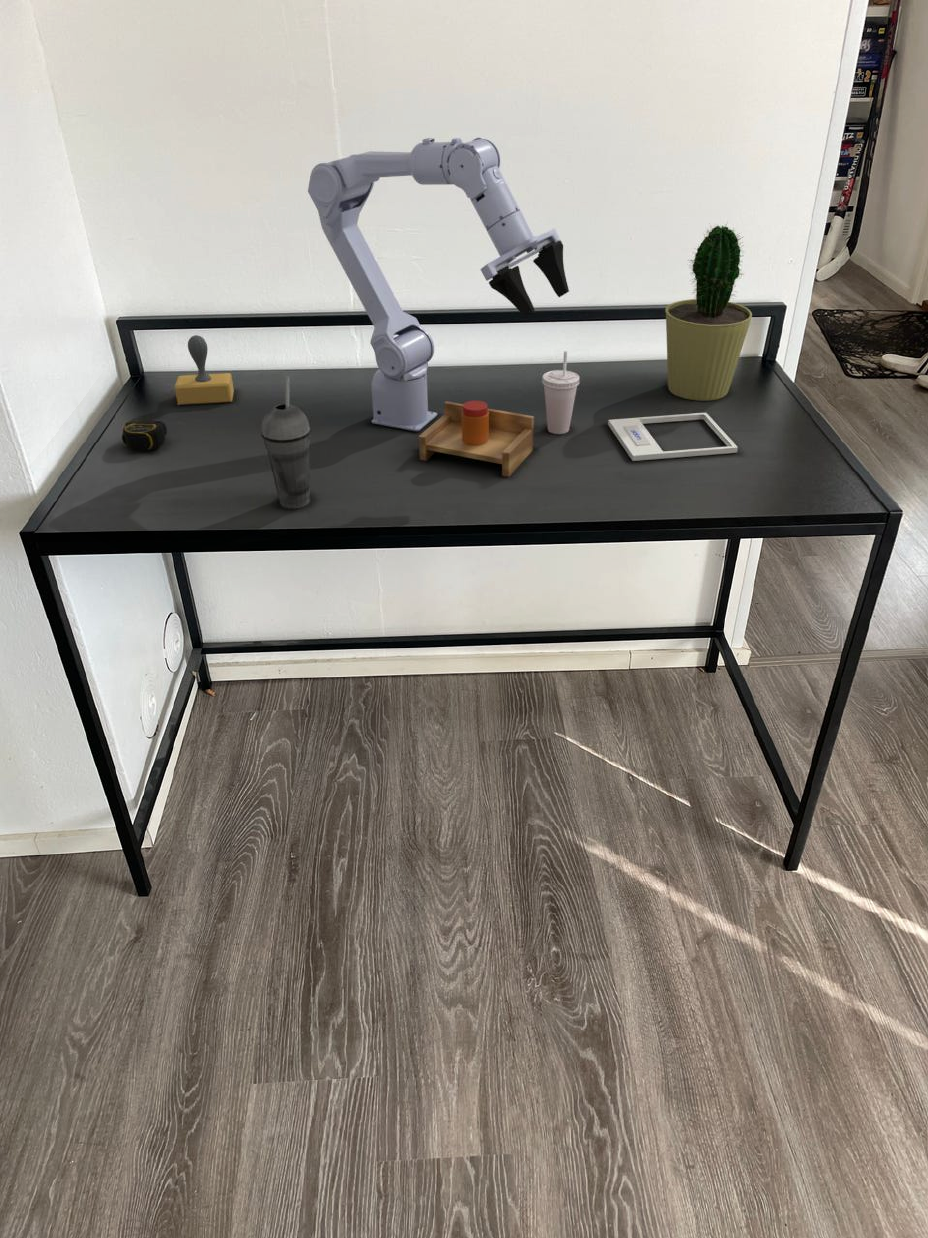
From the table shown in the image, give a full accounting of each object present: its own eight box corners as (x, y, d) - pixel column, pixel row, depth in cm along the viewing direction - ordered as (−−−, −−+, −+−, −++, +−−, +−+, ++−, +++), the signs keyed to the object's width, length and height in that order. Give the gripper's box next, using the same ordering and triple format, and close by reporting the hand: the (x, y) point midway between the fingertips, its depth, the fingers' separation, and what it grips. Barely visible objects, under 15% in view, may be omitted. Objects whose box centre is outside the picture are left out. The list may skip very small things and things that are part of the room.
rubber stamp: (234, 390, 182) (224, 329, 175) (231, 402, 177) (221, 339, 170) (181, 393, 181) (169, 331, 174) (177, 405, 176) (165, 342, 169)
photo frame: (608, 418, 167) (706, 411, 169) (608, 424, 167) (705, 417, 169) (633, 454, 155) (738, 446, 157) (632, 460, 155) (737, 452, 158)
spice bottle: (457, 442, 155) (457, 408, 152) (468, 432, 158) (468, 398, 155) (482, 447, 154) (482, 412, 150) (492, 436, 157) (493, 402, 153)
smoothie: (574, 438, 163) (579, 359, 155) (537, 435, 164) (540, 357, 156) (578, 423, 168) (583, 346, 160) (542, 420, 169) (545, 343, 161)
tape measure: (169, 437, 165) (165, 417, 163) (162, 454, 160) (158, 433, 157) (130, 438, 165) (125, 418, 163) (121, 455, 159) (116, 435, 157)
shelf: (419, 459, 157) (418, 424, 153) (447, 434, 165) (446, 401, 161) (508, 477, 151) (509, 441, 148) (532, 450, 159) (534, 416, 156)
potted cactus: (655, 372, 188) (673, 211, 170) (735, 375, 186) (761, 213, 168) (657, 403, 175) (677, 232, 158) (743, 406, 173) (772, 234, 156)
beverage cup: (273, 491, 148) (255, 367, 137) (319, 489, 149) (306, 365, 137) (269, 514, 142) (250, 386, 131) (317, 511, 143) (303, 384, 131)
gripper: (482, 227, 134) (528, 314, 137) (552, 191, 140) (594, 276, 143) (458, 246, 140) (503, 330, 143) (526, 212, 146) (567, 292, 149)
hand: (547, 304), depth 144 cm, fingers open, 7 cm apart
